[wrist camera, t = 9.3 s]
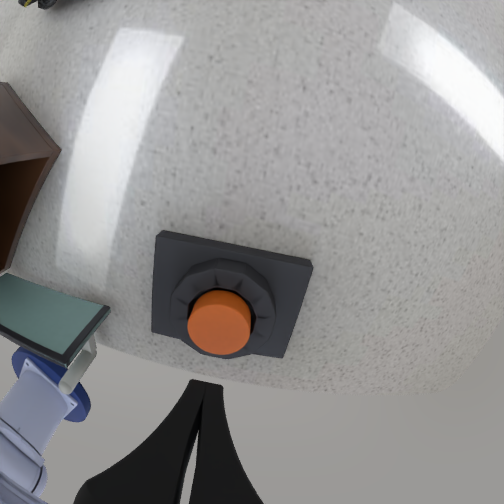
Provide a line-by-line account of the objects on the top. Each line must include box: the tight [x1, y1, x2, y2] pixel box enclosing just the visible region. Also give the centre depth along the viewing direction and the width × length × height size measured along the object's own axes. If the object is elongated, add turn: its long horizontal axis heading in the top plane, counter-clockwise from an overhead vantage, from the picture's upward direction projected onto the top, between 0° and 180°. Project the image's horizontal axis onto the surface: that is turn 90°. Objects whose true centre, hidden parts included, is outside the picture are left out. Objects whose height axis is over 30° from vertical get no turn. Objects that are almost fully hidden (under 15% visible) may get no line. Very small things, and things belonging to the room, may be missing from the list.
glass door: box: [0, 273, 111, 395], centre depth 16 cm, size 5×13×7 cm, turn 80°
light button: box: [187, 290, 251, 355], centre depth 16 cm, size 4×4×2 cm
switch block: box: [151, 230, 313, 359], centre depth 18 cm, size 10×8×3 cm
